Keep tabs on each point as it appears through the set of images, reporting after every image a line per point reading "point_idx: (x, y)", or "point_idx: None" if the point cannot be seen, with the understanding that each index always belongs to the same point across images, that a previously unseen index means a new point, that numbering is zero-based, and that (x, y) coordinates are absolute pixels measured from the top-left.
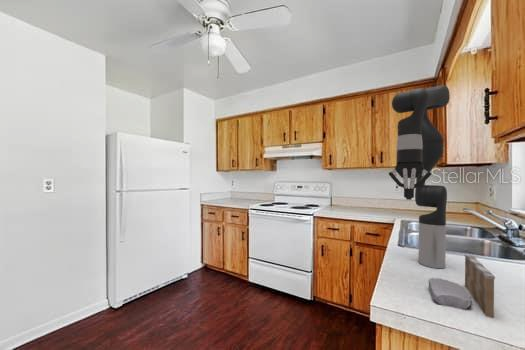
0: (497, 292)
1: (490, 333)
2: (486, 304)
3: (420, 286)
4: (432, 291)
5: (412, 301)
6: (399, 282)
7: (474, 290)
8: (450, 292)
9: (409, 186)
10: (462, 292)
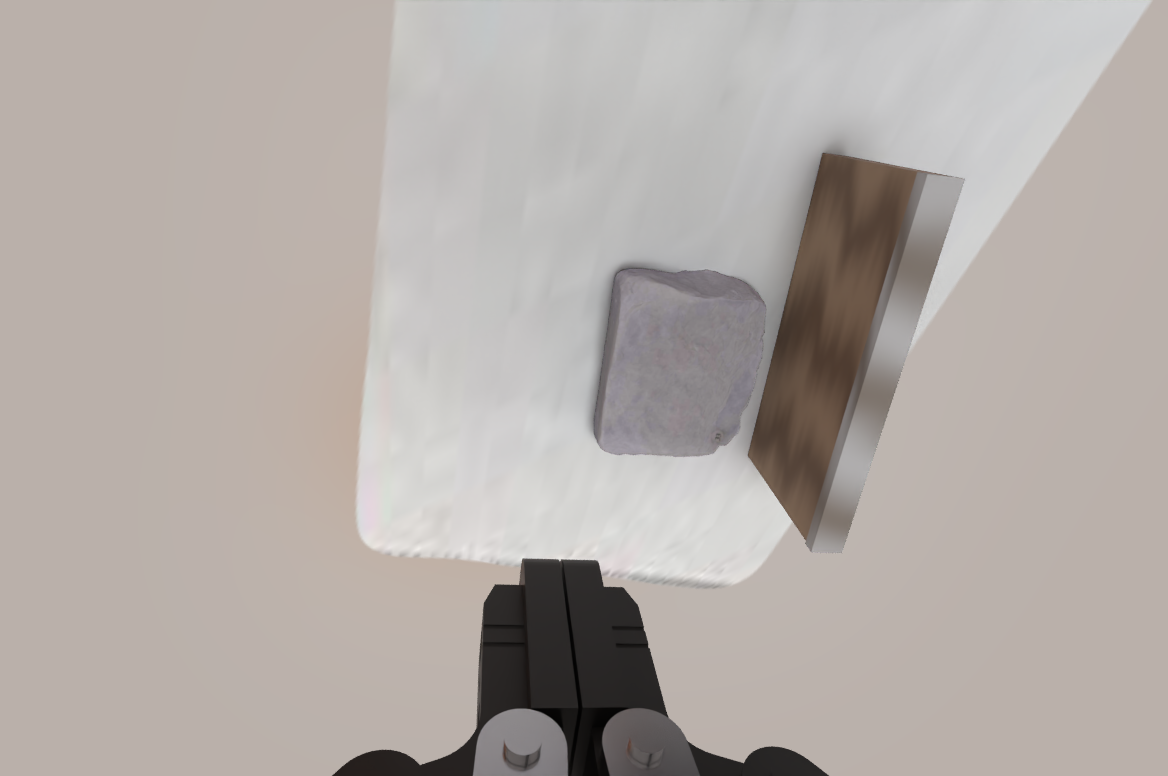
0: None
1: (702, 557)
2: (764, 478)
3: (577, 271)
4: (600, 414)
5: (507, 455)
6: (474, 263)
7: (798, 333)
8: (669, 428)
9: (598, 771)
10: (734, 367)
